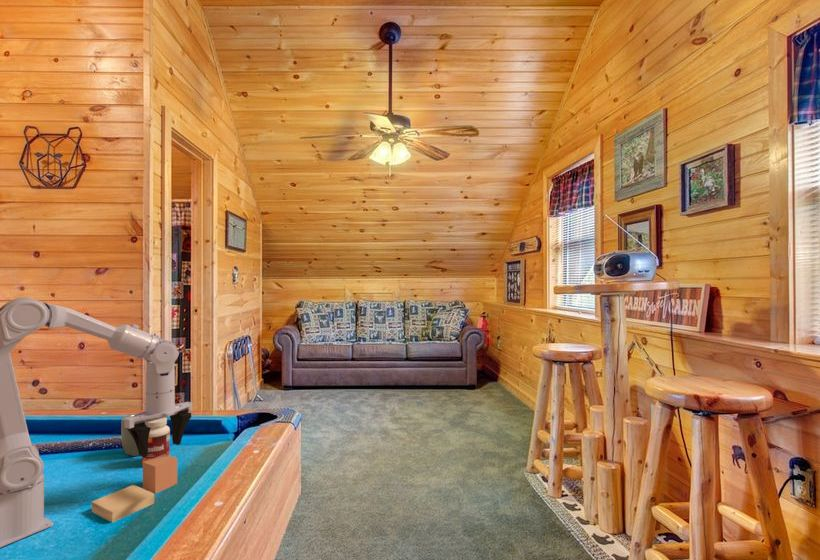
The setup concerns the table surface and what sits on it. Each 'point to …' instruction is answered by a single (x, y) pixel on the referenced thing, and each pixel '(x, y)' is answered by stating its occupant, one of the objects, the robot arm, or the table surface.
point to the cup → (128, 440)
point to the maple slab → (122, 503)
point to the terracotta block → (159, 473)
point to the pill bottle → (158, 439)
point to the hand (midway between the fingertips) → (160, 449)
